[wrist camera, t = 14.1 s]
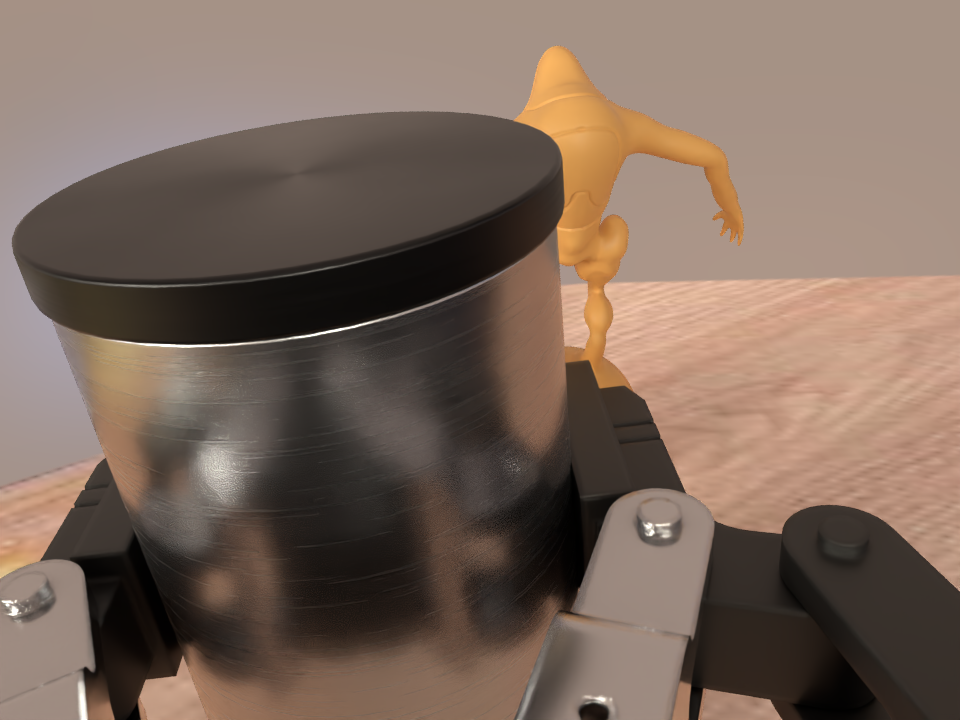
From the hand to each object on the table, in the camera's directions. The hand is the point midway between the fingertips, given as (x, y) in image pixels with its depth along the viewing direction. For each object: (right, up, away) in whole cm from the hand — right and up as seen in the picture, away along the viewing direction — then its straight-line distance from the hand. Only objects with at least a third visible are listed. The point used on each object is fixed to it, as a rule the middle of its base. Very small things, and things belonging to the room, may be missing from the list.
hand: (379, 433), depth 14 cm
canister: (+1, -7, +1) cm, 7 cm away
